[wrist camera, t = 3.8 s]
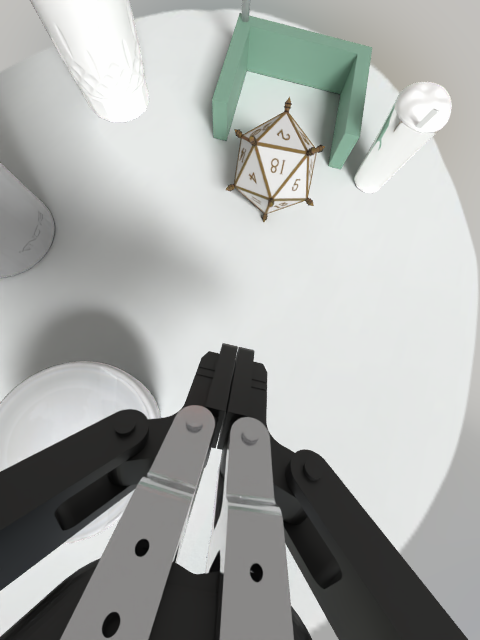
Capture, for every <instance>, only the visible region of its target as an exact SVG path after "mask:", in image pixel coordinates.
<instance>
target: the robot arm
mask: <svg viewBox="0 0 480 640" xmlns="http://www.w3.org/2000/svg"><path fill="white" fill-rule="evenodd" d="M54 230H55V226H54V220H53V217H52V215H51V213H50V211H49V209H48V208H47V207H46V206H45V205H44V203H42V202H41V201H40V200H39V199H38V198H37V197H36V196H35V195H34V194H33V193H32V192H31V191H30V190H29V189H28V188H27V187H26V186H25V185H23V184H22V183H21V182H20V181H19V180H18V179H17V178H16V177H15V176H14V175H13V174H12V173H11V172H10V171H9V170H8V169H7V168H6V167H5V166H4V165H3V164H2V163H0V278H3V277H10V276H13V275H16V274H19V273H22V272H24V271H26V270H27V269H29V268H31V267H32V266H34V265H35V264H36V263H37V262H39V261H40V260H41V259H42V258H43V256H44V255H45V254H46V253H47V251H48V249H49V248H50V246H51V244H52V241H53V237H54ZM237 349H238V347H237V346H233V345H229V344H224V343H223V344H222V347H221V351H220V354H218V353H214V352H210V351H209V352H208V353H207V354H205V355H204V356H203V357H202V358H201V361H200V364H199V367H198V369H197V372H196V375H195V377H194V380H193V383H192V386H191V388H190V391H189V394H188V397H187V399H186V402H185V404H184V406H183V407H182V409H181V410H180V411H179V412H177V413H176V414H174V415H172V416H169V417H166V418H157V419H147V417H146V416H145V414H144V413H142V412H140V411H138V410H135V409H126V410H121V411H118V412H116V413H114V414H112V415H110V416H108V417H106V418H104V419H102V420H100V421H98V422H96V423H94V424H92V425H91V426H89V427H87V428H85V429H83V430H81V431H79V432H77V433H75V434H73V435H71V436H69V437H67V438H65V439H63V440H61V441H59V442H57V443H55V444H53V445H51V446H49V447H48V448H46V449H44V450H42V451H40V452H38V453H36V454H34V455H32V456H30V457H28V458H26V459H24V460H22V461H20V462H18V463H16V464H14V465H12V466H10V467H8V468H6V469H4V470H3V471H1V472H0V591H1V590H2V589H3V588H5V587H6V586H7V585H9V584H10V583H11V582H13V581H14V580H15V579H17V578H18V577H19V576H21V575H22V574H23V573H25V572H26V571H27V570H28V569H30V568H31V567H32V566H34V565H35V564H36V563H38V562H39V561H40V560H42V559H43V558H44V557H46V556H47V555H48V554H50V553H51V552H52V551H54V550H55V549H56V548H58V547H59V546H60V545H62V544H63V543H64V542H66V541H67V540H68V539H70V538H71V537H72V536H74V535H75V534H76V533H77V532H79V531H80V530H81V529H83V528H84V527H85V526H87V525H88V524H89V523H91V522H92V521H93V520H95V519H96V518H97V517H99V516H100V515H101V514H103V513H104V512H105V511H107V510H108V509H109V508H111V507H112V506H113V505H115V504H116V503H117V502H119V501H120V500H121V499H123V498H124V497H125V496H127V495H128V494H129V493H130V492H132V491H133V490H134V489H135V490H134V492H133V494H132V496H131V498H130V500H129V502H128V504H127V506H126V508H125V510H124V512H123V514H122V516H121V518H120V520H119V522H118V524H117V526H116V529H115V531H114V533H113V535H112V537H111V539H110V541H109V543H108V545H107V547H106V549H105V551H104V553H103V555H102V557H101V558H100V559H98V560H96V561H93V562H91V563H89V564H87V565H86V566H84V567H82V568H81V569H79V570H77V571H76V572H75V573H73V574H72V575H71V576H69V577H68V578H66V579H65V580H64V581H63V582H62V583H61V584H59V585H58V586H57V587H56V588H55V589H54V590H53V591H51V592H50V593H49V594H48V595H47V596H46V597H45V598H44V599H42V600H41V601H40V602H39V603H38V604H37V605H36V606H35V607H33V608H32V609H31V610H30V611H29V612H28V613H27V614H26V615H24V616H23V617H22V618H21V619H20V620H19V621H18V622H17V623H15V624H14V625H13V626H12V627H11V628H10V629H9V630H8V631H6V632H5V633H4V634H3V635H2V636H1V637H0V640H312V638H311V636H310V634H309V632H308V630H307V629H306V627H305V625H304V624H303V622H302V620H301V619H300V617H299V616H298V614H297V613H296V612H295V610H294V609H293V607H292V606H291V602H290V591H289V580H288V570H287V559H286V548H285V543H286V545H287V547H288V549H289V550H290V552H291V554H292V556H293V558H294V560H295V561H296V563H297V565H298V567H299V569H300V570H301V572H302V574H303V576H304V578H305V579H306V581H307V583H308V585H309V587H310V588H311V590H312V592H313V594H314V596H315V597H316V599H317V601H318V603H319V605H320V606H321V608H322V610H323V612H324V614H325V616H326V617H327V619H328V621H329V623H330V625H331V626H332V628H333V630H334V632H335V634H336V635H337V637H338V639H339V640H468V639H467V638H466V636H465V635H464V634H463V633H462V631H461V630H460V629H459V628H458V626H457V625H456V624H455V623H454V621H453V620H452V619H451V618H450V616H449V615H448V614H447V613H446V611H445V610H444V609H443V608H442V606H441V605H440V604H439V602H438V601H437V600H436V599H435V598H434V596H433V595H432V594H431V592H430V591H429V590H428V589H427V587H426V586H425V585H424V584H423V582H422V581H421V580H420V579H419V577H418V576H417V575H416V574H415V572H414V571H413V570H412V569H411V567H410V566H409V565H408V564H407V562H406V561H405V560H404V559H403V557H402V556H401V555H400V554H399V552H398V551H397V550H396V549H395V547H394V546H393V545H392V544H391V542H390V541H389V540H388V539H387V537H386V536H385V535H384V534H383V532H382V531H381V530H380V529H379V527H378V526H377V525H376V524H375V522H374V521H373V520H372V519H371V517H370V516H369V515H368V514H367V512H366V511H365V510H364V509H363V507H362V506H361V505H360V504H359V502H358V501H357V500H356V499H355V497H354V496H353V495H352V494H351V492H350V491H349V490H348V488H347V487H346V486H345V485H344V483H343V482H342V481H341V480H340V478H339V477H338V476H337V475H336V473H335V472H334V471H333V470H332V468H331V467H330V466H329V465H328V463H327V462H326V461H325V460H324V459H323V458H322V457H321V456H320V455H318V454H317V453H315V452H313V451H310V450H300V451H297V452H296V453H294V452H293V451H291V450H289V449H287V448H286V447H284V446H282V445H281V444H279V443H278V442H277V441H275V439H274V438H273V437H272V436H271V435H270V433H269V431H268V428H267V425H266V407H267V371H266V369H265V367H264V365H263V364H261V363H257V362H253V360H254V350H250V349H246V348H242V347H239V349H238V352H237ZM236 354H237V356H236ZM235 359H236V360H235ZM220 430H221V431H220ZM219 433H220V436H219ZM218 437H219V441H218ZM217 441H218V446H217V449H222V456H221V462H220V465H219V468H218V474H217V484H216V493H215V503H214V512H213V522H212V530H211V537H210V542H209V547H208V554H207V562H206V571H205V573H204V574H193V573H191V572H189V571H188V570H186V569H185V568H183V567H182V566H180V565H178V564H177V563H176V562H177V559H178V555H179V552H180V549H181V545H182V542H183V538H184V535H185V531H186V527H187V524H188V521H189V517H190V514H191V511H192V507H193V504H194V501H195V497H196V494H197V491H198V487H199V484H200V481H201V477H202V474H203V471H204V468H205V467H206V465H207V462H208V459H209V455H210V451H211V447H212V448H216V444H217Z"/></svg>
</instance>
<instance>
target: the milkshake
mask: <svg viewBox="0 0 480 640" xmlns="http://www.w3.org/2000/svg"><path fill="white" fill-rule="evenodd" d="M451 108H452V104H451V98H450V96H449V94H448V92H447V91H446V89H445V88H444V87H443V86H441V85H438V84H435V83H432V82H417V83H414V84H411V85H409V86H407V87H405V88H404V89H403V90H402V91H401V92H400V94H399V95H398V97H397V99H396V101H395V103H394V105H393V107H392V109H391V110H390V112H389V114H388V116H387V118H386V120H385V122H384V124H383V126H382V128H381V129H380V131H379V133H378V135H377V137H376V138H375V140H374V142H373V144H372V146H371V147H370V149H369V151H368V153H367V154H366V156H365V158H364V160H363V161H362V163H361V165H360V167H359V169H358V170H357V172H356V175H355V178H354V181H355V184H356V186H357V188H359V189H360V190H361V191H363V192H364V193H374V192H376V191H378V190H380V189H381V188H382V187H383V186H384V185H385V184H386V183H387V182H388V181H389V180H390V179H391V178H392V177H393V176H394V175H395V174H396V173H397V172H398V171H399V170H400V169H401V168H402V167H403V166H404V165H405V164H406V163H407V162H408V160H409V159H410V158H411V157H412V156H413V155H414V154H415V153H416V152H417V151H418V150H420V149H421V148H422V147H423V146H424V145H425V144H426V143H427V142H428V141H429V140H430V139H431V138H432V137H433V136H434V135H435V134H436V133H437V132H438V131H439V130H440V129H441V128H442V127H444V126H445V124H446V123H447V122H448V120H449V117H450V114H451Z"/></svg>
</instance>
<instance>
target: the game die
mask: <svg viewBox="0 0 480 640" xmlns="http://www.w3.org/2000/svg"><path fill="white" fill-rule="evenodd" d="M291 105H292V104H291V101H290V97H289V98H288V100H287V101H286V103H285V106H284V107H285V111H284V112H283V113H281V114H279V115H277V116H276V117H274V118H272V119H270V120H269V121H267V122H265V123H263V124H261V125H260V126H258V127H256V128H254V129H252V130H251V131H249V132H247V133H245V134H242V132H241V131H240V130H236V129H234V130H235V133H236V136H238V138H241V141H240V148H239V154H238V161H237V167H236V174H235V180H234V184H233V185H231V184H230V185H228V187H227V188H226V190H228V191H230V192H231V190H233V189H234V188H236V189H237V190H238V191H239V192H241V193H242V194H243V195H244V196H245V197H246V198H247V199H249V200H250V201H251V202H252V203H253V204H254V205H255V206H256V207H258V208H259V209H260V210H261V211H262V212H263V213H264V215H263V217H262V219H263V222H265V220H267V217H268V216H267V214H268V213H271V212H274V211H277V210H280V209H282V208H285V207H288V206H291V205H294V204H297V203H300V202H303V201H306V202H307V204H308V206H309V205H311V206H314V205H313V200H311V199H309V198H308V194H309V189H310V184H311V179H312V174H313V168H314V163H315V158H316V153H317V152H322V150H323V149H324V147H325V146H322V145H320V146H317V148H315V147H314V145H313V144H312V143H311V141H310V140H309V139H308V137H307V136H306V135H305V133H304V132H303V131H302V129H301V128H300V127H299V125H298V124H297V123H296V121H295V120H294V119H293V118H292V116H291V115H290V114H289V109H290V108H291Z"/></svg>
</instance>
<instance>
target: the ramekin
mask: <svg viewBox="0 0 480 640" xmlns="http://www.w3.org/2000/svg"><path fill="white" fill-rule="evenodd" d="M126 409H135V410H138V411H140V412H142V413H144V414H145V416H146V417H147V419H157V418H161V416H160V410H159V408H158V405H157V402H156V401H155V399H154V397H153V396H152V395H151V393H150V391H149V390H148V389H147V388H146V387H145V386H144V385H143V384H142V383H141V382H140V381H139V380H137V379H135V378H134V377H133V376H131V375H130V374H128V373H127V372H125V371H123V370H121V369H119V368H117V367H114V366H112V365H108V364H104V363H100V362H92V361H78V362H68V363H63V364H59V365H55V366H52V367H49V368H47V369H44V370H42V371H40V372H38V373H36V374H34V375H32V376H31V377H29V378H27V379H26V380H24V381H23V382H22V383H20V384H19V385H18V386H16V387H15V388H14V389H13V390H12V391H11V392H10V393H9V394H8V395H7V396H6V397H5V398H4V399H3V400H2V402H1V403H0V472H1V471H3V470H4V469H6V468H8V467H10V466H12V465H14V464H16V463H18V462H20V461H22V460H24V459H26V458H28V457H30V456H32V455H34V454H36V453H38V452H40V451H42V450H44V449H46V448H48V447H49V446H51V445H53V444H55V443H57V442H59V441H61V440H63V439H65V438H67V437H69V436H71V435H73V434H75V433H77V432H79V431H81V430H83V429H85V428H87V427H89V426H91V425H92V424H94V423H96V422H98V421H100V420H102V419H104V418H106V417H108V416H110V415H112V414H114V413H116V412H118V411H121V410H126ZM134 490H135V489H134ZM134 490H133V491H132V492H130V493H129V494H128V495H127V496H125V497H124V498H123V499H121V500H120V501H119V502H117V503H116V504H115V505H113V506H112V507H111V508H109V509H108V510H107V511H105V512H104V513H103V514H101V515H100V516H99V517H97V518H96V519H95V520H93V521H92V522H91V523H89V524H88V525H87V526H85V527H84V528H83V529H81V530H80V531H79V532H77V533H76V534H75V535H74V536H72V537H71V538H70V539H68V540H67V541H66V542H64V543H63V544H69V543H74V542H78V541H81V540H85V539H88V538H91V537H93V536H96V535H98V534H100V533H102V532H103V531H105V530H106V529H108V528H110V527H111V526H112V525H114V524H115V523H116V522H118V521H119V520H120V518H121V516H122V514H123V512H124V510H125V508H126V506H127V504H128V502H129V500H130V498H131V496H132V494H133V492H134Z"/></svg>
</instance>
